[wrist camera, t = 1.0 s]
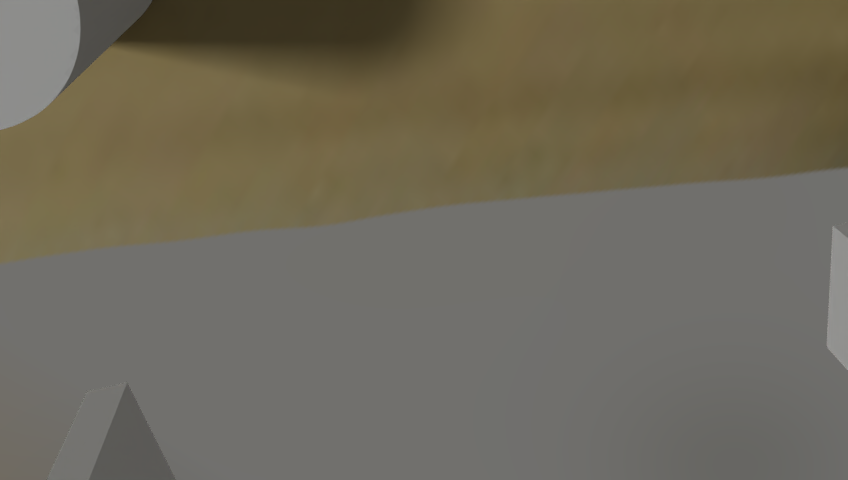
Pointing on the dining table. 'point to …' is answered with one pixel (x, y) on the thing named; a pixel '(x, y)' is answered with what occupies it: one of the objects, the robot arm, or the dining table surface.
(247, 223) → the dining table surface
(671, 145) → the dining table surface
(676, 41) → the dining table surface
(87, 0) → the white cylinder
